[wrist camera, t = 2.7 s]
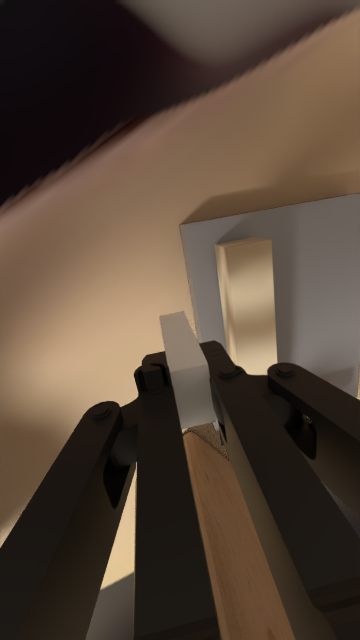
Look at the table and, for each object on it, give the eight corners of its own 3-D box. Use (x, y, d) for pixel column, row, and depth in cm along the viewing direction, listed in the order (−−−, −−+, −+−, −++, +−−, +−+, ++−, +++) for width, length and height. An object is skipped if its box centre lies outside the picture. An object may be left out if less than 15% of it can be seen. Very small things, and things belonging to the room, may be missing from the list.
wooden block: (190, 425, 34) (254, 677, 15) (239, 465, 37) (341, 712, 18) (132, 474, 35) (124, 763, 16) (184, 509, 38) (228, 782, 19)
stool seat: (209, 413, 33) (223, 451, 28) (179, 224, 26) (190, 224, 20) (339, 383, 35) (378, 413, 29) (347, 194, 27) (402, 186, 21)
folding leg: (264, 395, 30) (279, 417, 26) (233, 403, 29) (244, 425, 26) (253, 237, 24) (271, 239, 21) (214, 244, 24) (226, 247, 20)
